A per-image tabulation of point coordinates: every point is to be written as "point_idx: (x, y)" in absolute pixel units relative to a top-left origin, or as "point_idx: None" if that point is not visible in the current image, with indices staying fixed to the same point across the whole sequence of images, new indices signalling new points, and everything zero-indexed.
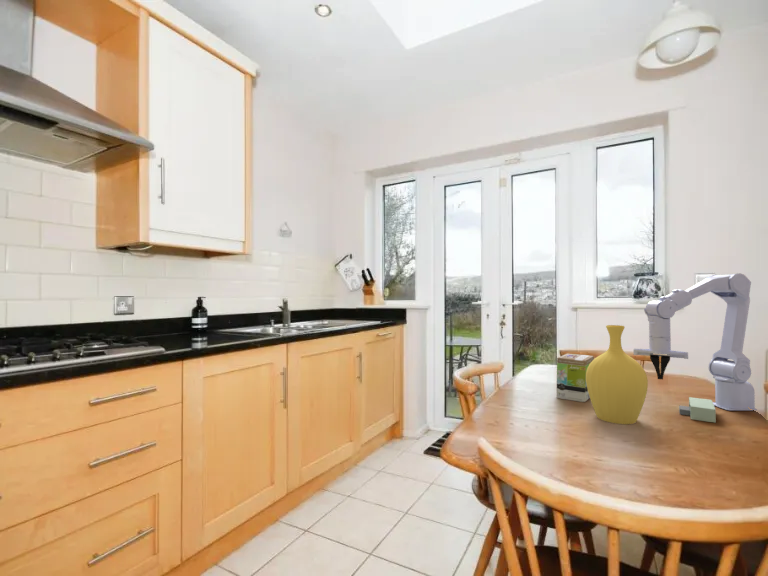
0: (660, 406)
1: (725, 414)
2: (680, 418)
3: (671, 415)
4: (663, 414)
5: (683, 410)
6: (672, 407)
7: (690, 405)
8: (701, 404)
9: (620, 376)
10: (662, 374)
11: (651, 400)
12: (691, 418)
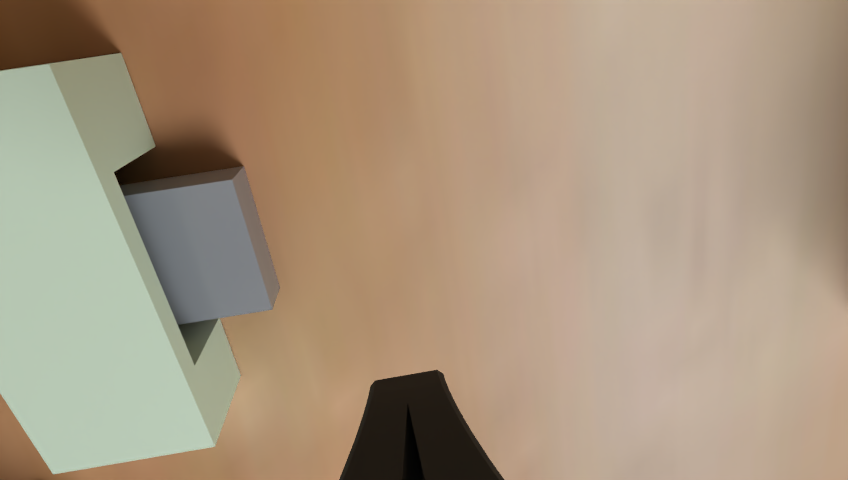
0: (410, 305)
1: None
2: (192, 10)
3: (280, 68)
4: (340, 52)
5: (203, 182)
6: (337, 335)
7: (89, 146)
8: (22, 244)
9: None
10: (370, 433)
11: (487, 421)
12: (114, 54)
